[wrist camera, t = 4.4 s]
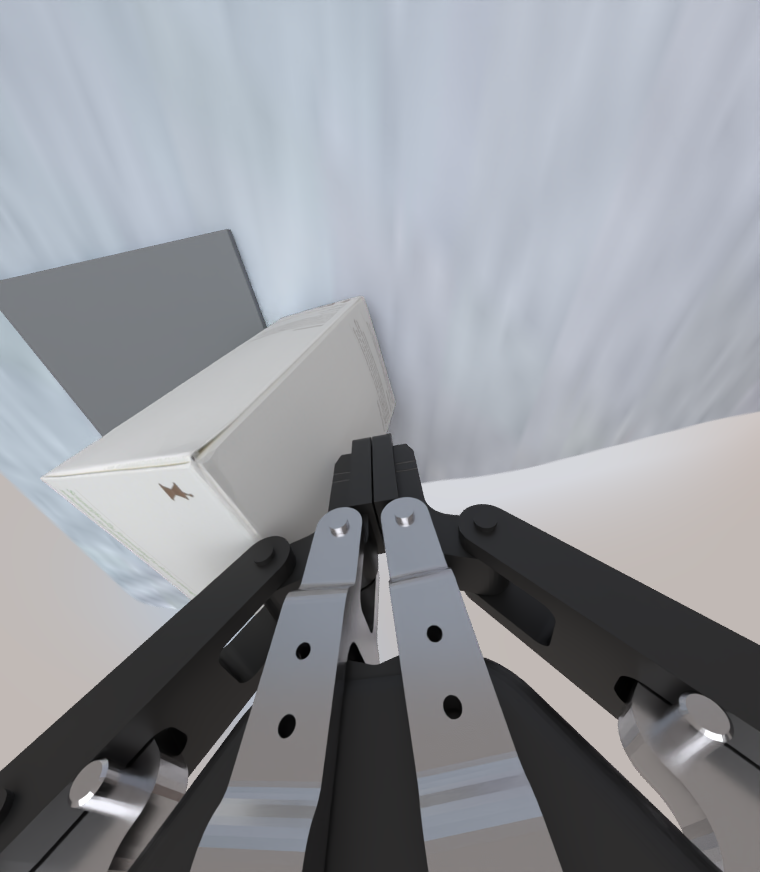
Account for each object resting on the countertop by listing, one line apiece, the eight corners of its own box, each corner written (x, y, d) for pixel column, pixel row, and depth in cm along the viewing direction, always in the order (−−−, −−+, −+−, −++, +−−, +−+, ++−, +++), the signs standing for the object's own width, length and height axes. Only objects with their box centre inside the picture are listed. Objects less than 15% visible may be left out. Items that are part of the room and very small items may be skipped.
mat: (230, 229, 18) (226, 229, 17) (317, 464, 28) (316, 469, 27) (-10, 283, 19) (-21, 285, 19) (154, 491, 29) (150, 496, 28)
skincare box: (282, 315, 21) (14, 467, 8) (371, 290, 18) (182, 448, 6) (326, 418, 25) (193, 614, 13) (403, 408, 23) (329, 636, 11)
